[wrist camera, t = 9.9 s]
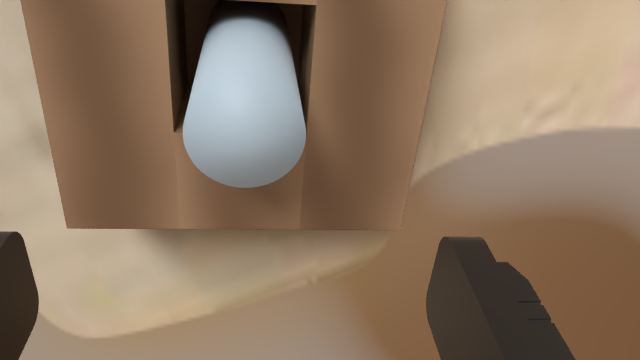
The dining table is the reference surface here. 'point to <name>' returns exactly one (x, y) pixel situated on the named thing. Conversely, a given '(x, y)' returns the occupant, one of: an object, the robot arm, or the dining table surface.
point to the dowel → (245, 98)
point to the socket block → (173, 97)
